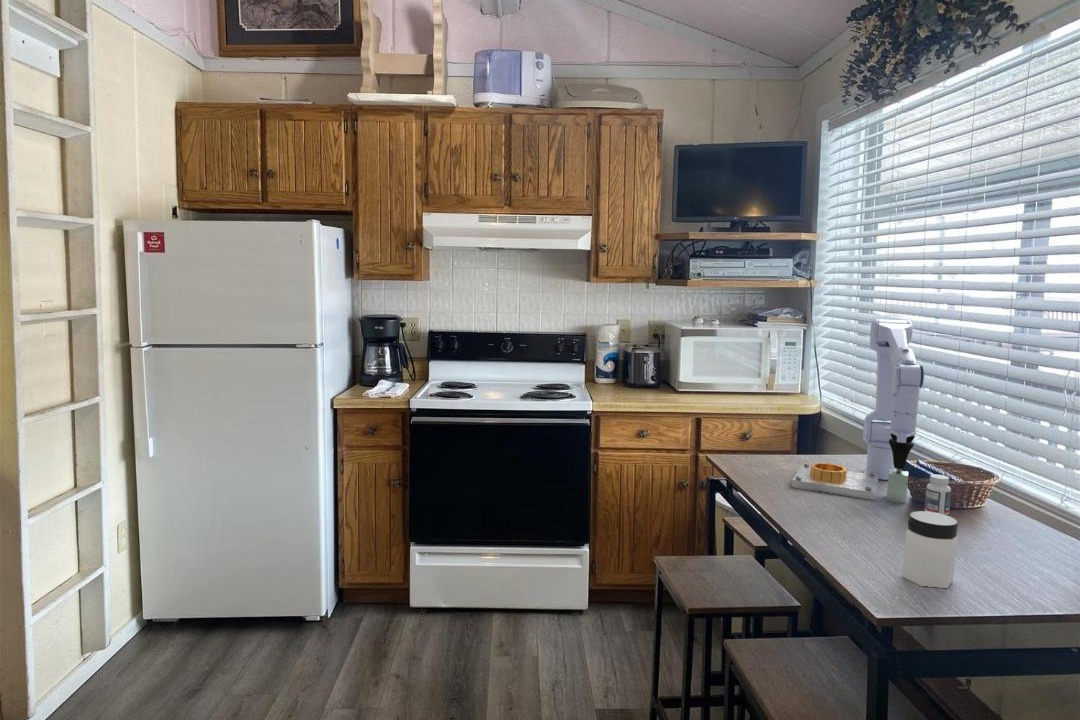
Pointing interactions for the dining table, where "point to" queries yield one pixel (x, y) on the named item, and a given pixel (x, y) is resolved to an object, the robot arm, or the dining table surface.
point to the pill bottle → (938, 495)
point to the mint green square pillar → (897, 485)
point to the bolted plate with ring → (835, 480)
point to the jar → (930, 549)
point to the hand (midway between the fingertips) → (899, 465)
